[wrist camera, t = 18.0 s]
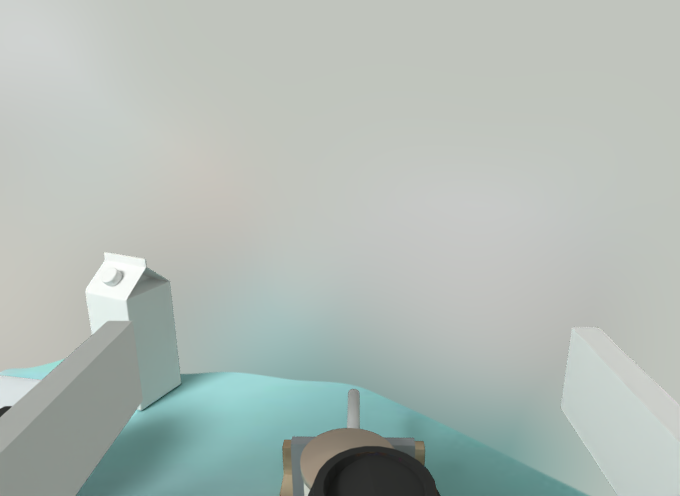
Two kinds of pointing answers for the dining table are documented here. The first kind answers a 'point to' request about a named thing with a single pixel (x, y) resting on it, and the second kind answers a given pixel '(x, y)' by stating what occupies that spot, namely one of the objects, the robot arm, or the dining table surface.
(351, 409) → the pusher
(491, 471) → the dining table surface
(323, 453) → the cream jar
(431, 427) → the dining table surface
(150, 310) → the milk carton
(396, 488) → the coffee cup
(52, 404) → the robot arm
